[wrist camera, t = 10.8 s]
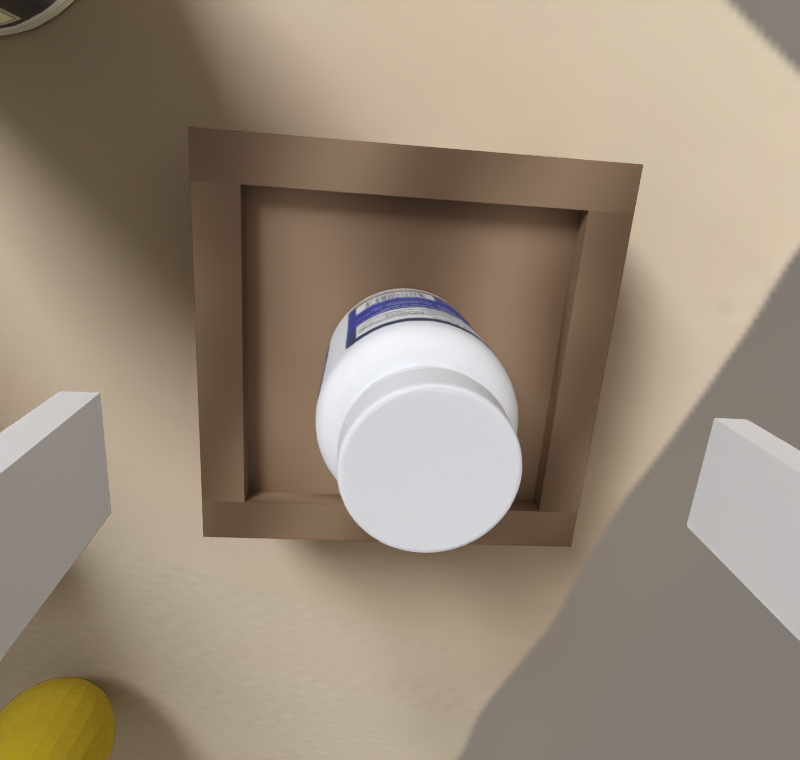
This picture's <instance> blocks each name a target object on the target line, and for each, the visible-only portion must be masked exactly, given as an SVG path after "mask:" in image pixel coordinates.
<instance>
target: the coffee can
mask: <svg viewBox="0 0 800 760" xmlns="http://www.w3.org/2000/svg"><path fill="white" fill-rule="evenodd" d="M73 1H74V0H0V36H2V35H10V34H15V33H19V32H23V31H28V30H32V29H34V28H36V27H38V26H40V25H42V24H43V23H45V22H46V21H48V20H50V19H52V18H54V17H56V16H57V15H58V14H60V13H61V12H62V11H63V10H64V9H66V8H67V7H68V6H69V5H70V4H71V3H72V2H73Z"/></svg>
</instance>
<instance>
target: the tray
mask: <svg viewBox="0 0 800 760" xmlns="http://www.w3.org/2000/svg"><path fill="white" fill-rule="evenodd" d="M188 136H189V163H190V190H191V217H192V243H193V270H194V297H195V324H196V351H197V378H198V404H199V431H200V458H201V485H202V512H203V537H234V538H271V539H308V540H344V541H378V540H377V539H375V538H374V537H372V536H371V535H369V534H368V533H367V532H366V531H364V530H363V529H362V528H361V527H360V526H359V525H358V524H357V523H356V522H355V521H354V519H353V518H352V516H351V515H350V514H349V512H348V510H347V508H346V507H345V505H344V502H343V500H342V497H341V495H340V491H339V487H338V482H337V480H336V479H335V477H334V476H333V475H332V473H331V472H330V470H329V469H328V467H327V465H326V463H325V461H324V459H323V456H322V454H321V451H320V448H319V445H318V440H317V434H316V406H317V400H318V395H319V390H320V385H321V381H322V376H323V372H324V367H325V361H326V356H327V351H328V348H329V344H330V341H331V338H332V336H333V333H334V331H335V329H336V328H337V326H338V324H339V323H340V321H341V320H342V319H343V318H344V316H345V315H346V314H347V313H348V312H349V311H350V310H351V309H352V308H353V307H354V306H356V305H357V304H358V303H360V302H361V301H362V300H364V299H366V298H367V297H369V296H372V295H374V294H376V293H379V292H382V291H386V290H391V289H401V288H405V289H416V290H422V291H425V292H429V293H431V294H434V295H436V296H438V297H440V298H441V299H443V300H445V301H446V302H448V303H449V304H450V305H451V306H453V307H454V308H455V309H456V310H457V311H458V312H459V313H460V314H461V315H462V316H463V317H464V318H465V320H466V321H467V322H468V323H469V324H470V326H471V327H472V328H473V329H474V330H475V331H476V332H477V334H478V335H479V336H480V337H481V338H482V340H483V341H484V342H485V343H486V344H487V346H488V347H489V348H490V349H491V350H492V351H493V353H494V354H495V355H496V357H497V358H498V359H499V361H500V362H501V364H502V365H503V367H504V369H505V370H506V372H507V374H508V376H509V378H510V380H511V383H512V385H513V388H514V392H515V395H516V400H517V405H518V429H517V438H518V440H519V444H520V448H521V453H522V476H521V482H520V485H519V489H518V492H517V494H516V497H515V499H514V501H513V503H512V505H511V507H510V509H509V510H508V511H507V512H506V514H505V515H504V517H503V518H502V519H501V520H500V521H499V522H498V523H497V524H496V525H495V526H494V527H493V528H492V529H491V530H490V531H488V532H487V533H486V534H484V535H483V536H481V537H480V538H478V539H476V540H475V541H473V542H470V543H468V544H491V545H528V546H564V547H571V544H572V538H573V533H574V528H575V522H576V517H577V512H578V507H579V501H580V496H581V491H582V485H583V480H584V475H585V469H586V464H587V459H588V454H589V448H590V443H591V438H592V432H593V427H594V422H595V417H596V411H597V406H598V401H599V395H600V390H601V385H602V380H603V374H604V369H605V364H606V358H607V353H608V348H609V342H610V337H611V332H612V327H613V321H614V316H615V311H616V305H617V300H618V295H619V290H620V284H621V279H622V274H623V268H624V263H625V258H626V253H627V247H628V242H629V237H630V231H631V226H632V221H633V216H634V210H635V205H636V200H637V194H638V189H639V184H640V178H641V173H642V168H643V165H641V164H629V163H617V162H605V161H593V160H581V159H569V158H557V157H544V156H532V155H520V154H508V153H496V152H484V151H472V150H460V149H448V148H436V147H423V146H411V145H399V144H387V143H375V142H363V141H351V140H339V139H327V138H315V137H302V136H290V135H278V134H266V133H254V132H242V131H230V130H218V129H206V128H193V127H188Z"/></svg>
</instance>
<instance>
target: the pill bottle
mask: <svg viewBox="0 0 800 760" xmlns="http://www.w3.org/2000/svg"><path fill="white" fill-rule="evenodd" d="M517 429H518V405H517V400H516V395H515V392H514V388H513V385H512V383H511V380H510V378H509V376H508V374H507V372H506V370H505V369H504V367H503V365H502V364H501V362H500V361H499V359H498V358H497V357H496V355H495V354H494V353H493V351H492V350H491V349H490V348H489V347H488V346H487V344H486V343H485V342H484V341H483V340H482V338H481V337H480V336H479V335H478V334H477V332H476V331H475V330H474V329H473V328H472V327H471V326H470V324H469V323H468V322H467V321H466V320H465V318H464V317H463V316H462V315H461V314H460V313H459V312H458V311H457V310H456V309H455V308H454V307H453V306H451V305H450V304H449V303H448V302H446V301H445V300H443V299H441V298H440V297H438V296H436V295H434V294H431V293H429V292H425V291H422V290H416V289H405V288H401V289H391V290H386V291H382V292H379V293H376V294H374V295H372V296H369V297H367V298H366V299H364V300H362V301H361V302H360V303H358V304H357V305H356V306H354V307H353V308H352V309H351V310H350V311H349V312H348V313H347V314H346V315H345V316H344V318H343V319H342V320H341V321H340V323H339V324H338V326H337V328H336V329H335V331H334V333H333V336H332V338H331V341H330V344H329V348H328V351H327V356H326V361H325V367H324V372H323V376H322V381H321V385H320V390H319V395H318V400H317V406H316V434H317V440H318V445H319V448H320V451H321V454H322V456H323V459H324V461H325V463H326V465H327V467H328V469H329V470H330V472H331V473H332V475H333V476H334V477H335V479H336V480H337V482H338V487H339V491H340V495H341V497H342V500H343V502H344V505H345V507H346V508H347V510H348V512H349V514H350V515H351V516H352V518H353V519H354V521H355V522H356V523H357V524H358V525H359V526H360V527H361V528H362V529H363V530H364V531H366V532H367V533H368V534H369V535H371V536H372V537H374V538H375V539H377V540H378V541H380V542H382V543H384V544H386V545H388V546H391V547H394V548H397V549H401V550H405V551H411V552H419V553H431V552H441V551H446V550H451V549H455V548H458V547H461V546H464V545H466V544H468V543H470V542H473V541H475V540H476V539H478V538H480V537H481V536H483V535H484V534H486V533H487V532H488V531H490V530H491V529H492V528H493V527H494V526H495V525H496V524H497V523H498V522H499V521H500V520H501V519H502V518H503V517H504V515H505V514H506V512H507V511H508V510H509V509H510V507H511V505H512V503H513V501H514V499H515V497H516V494H517V492H518V489H519V485H520V482H521V476H522V453H521V448H520V444H519V440H518V438H517Z"/></svg>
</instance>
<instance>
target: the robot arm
mask: <svg viewBox="0 0 800 760" xmlns="http://www.w3.org/2000/svg"><path fill="white" fill-rule="evenodd" d="M110 514H111V505H110V494H109V484H108V473H107V463H106V452H105V441H104V431H103V420H102V410H101V399H100V393H92V392H68V391H60V392H58V393H57V394H55V395H54V396H52V397H51V398H49V399H48V400H47V401H45V402H44V403H42V404H41V405H39V406H38V407H36V408H35V409H34V410H32V411H31V412H29V413H28V414H26V415H25V416H23V417H22V418H21V419H19V420H18V421H16V422H15V423H13V424H12V425H11V426H9V427H8V428H6V429H5V430H3V431H2V432H0V661H1V660H2V659H3V657H4V656H5V655H6V653H7V652H8V651H9V649H10V648H11V646H12V645H13V644H14V642H15V641H16V640H17V638H18V637H19V636H20V634H21V633H22V632H23V630H24V629H25V628H26V626H27V625H28V624H29V622H30V621H31V620H32V618H33V617H34V616H35V614H36V613H37V612H38V610H39V609H40V608H41V606H42V605H43V604H44V602H45V601H46V600H47V598H48V597H49V596H50V594H51V593H52V592H53V590H54V589H55V587H56V586H57V585H58V583H59V582H60V581H61V579H62V578H63V577H64V575H65V574H66V573H67V571H68V570H69V569H70V567H71V566H72V565H73V563H74V562H75V561H76V559H77V558H78V557H79V555H80V554H81V553H82V551H83V550H84V549H85V547H86V546H87V545H88V543H89V542H90V541H91V539H92V538H93V537H94V535H95V534H96V533H97V531H98V530H99V529H100V527H101V526H102V524H103V523H104V522H105V520H106V519H107V518H108V516H109V515H110ZM687 527H688V528H689V529H690V530H691V531H692V532H693V533H694V534H695V535H696V536H697V537H698V538H699V539H700V540H701V541H702V542H703V543H704V544H705V545H706V546H707V547H708V548H709V549H710V550H711V551H712V552H713V553H714V554H715V555H716V556H717V557H718V558H719V559H720V560H721V561H722V562H723V563H724V564H725V565H726V566H727V567H728V568H729V569H730V570H731V572H732V573H733V574H734V575H735V576H736V577H737V578H738V579H739V580H740V581H741V582H742V583H743V584H744V585H745V586H746V587H747V588H749V590H750V591H751V592H752V593H753V594H754V595H755V596H756V597H757V598H758V599H759V600H760V601H761V602H762V603H763V604H764V605H765V606H766V607H767V608H768V609H769V610H770V611H771V612H772V613H773V614H774V615H775V616H776V617H777V618H778V619H779V620H780V621H781V622H782V624H784V626H786V628H788V630H789V631H790V632H792V634H793V635H794V636H795V637H796V638H797V639H798V640H799V641H800V451H799V450H798V449H796V448H794V447H792V446H791V445H789V444H787V443H786V442H784V441H782V440H781V439H779V438H777V437H776V436H774V435H772V434H771V433H769V432H767V431H765V430H764V429H762V428H760V427H759V426H757V425H755V424H754V423H752V422H750V421H749V420H747V419H722V418H715V419H714V422H713V427H712V430H711V434H710V438H709V442H708V446H707V449H706V453H705V457H704V461H703V465H702V469H701V473H700V476H699V480H698V484H697V488H696V492H695V495H694V499H693V503H692V507H691V511H690V515H689V519H688V523H687Z"/></svg>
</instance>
